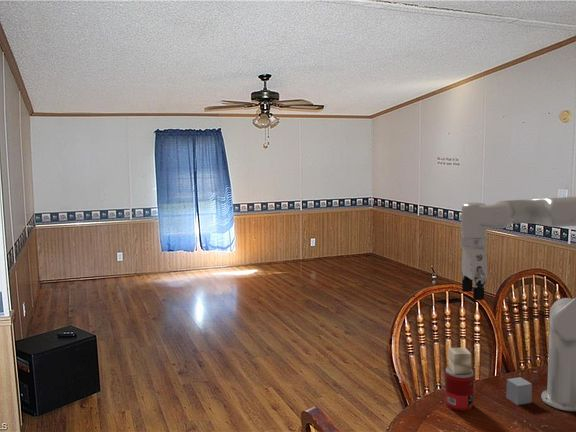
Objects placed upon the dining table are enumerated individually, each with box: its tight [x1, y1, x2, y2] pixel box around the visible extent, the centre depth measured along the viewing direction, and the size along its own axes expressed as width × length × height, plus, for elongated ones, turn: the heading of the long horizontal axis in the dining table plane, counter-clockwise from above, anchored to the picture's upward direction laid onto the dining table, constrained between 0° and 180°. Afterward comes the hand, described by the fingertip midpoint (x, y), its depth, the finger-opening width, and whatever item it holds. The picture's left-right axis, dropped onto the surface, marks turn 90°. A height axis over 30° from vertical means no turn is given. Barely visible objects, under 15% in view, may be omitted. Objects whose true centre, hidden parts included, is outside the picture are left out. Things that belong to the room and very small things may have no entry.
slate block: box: [505, 376, 533, 406], centre depth 159 cm, size 5×5×6 cm
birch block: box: [448, 347, 472, 374], centre depth 156 cm, size 5×5×6 cm
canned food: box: [444, 366, 475, 412], centre depth 157 cm, size 8×8×11 cm
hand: (472, 295), depth 166 cm, fingers open, 9 cm apart
